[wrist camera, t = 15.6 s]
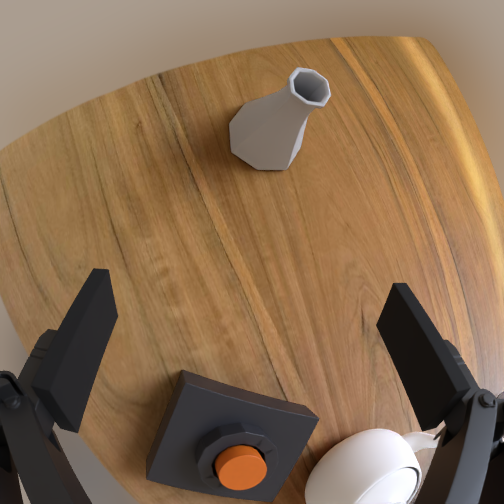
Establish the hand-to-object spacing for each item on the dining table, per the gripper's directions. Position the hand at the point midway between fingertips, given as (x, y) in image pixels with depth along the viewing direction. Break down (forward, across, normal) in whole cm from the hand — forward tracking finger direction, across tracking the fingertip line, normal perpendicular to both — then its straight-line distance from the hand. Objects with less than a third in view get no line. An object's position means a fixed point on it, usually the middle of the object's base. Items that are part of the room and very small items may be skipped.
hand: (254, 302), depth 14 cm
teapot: (+2, +15, -28) cm, 31 cm away
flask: (+19, +2, +4) cm, 20 cm away
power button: (-1, 0, -18) cm, 18 cm away
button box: (+3, -1, -20) cm, 20 cm away
